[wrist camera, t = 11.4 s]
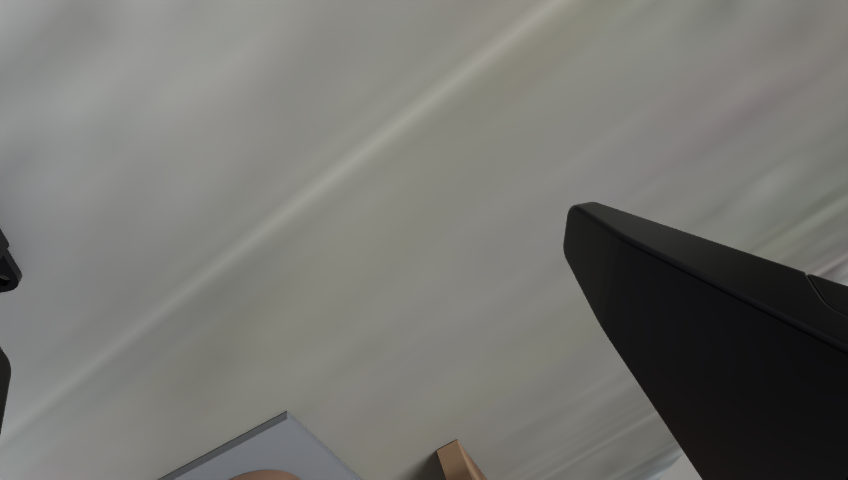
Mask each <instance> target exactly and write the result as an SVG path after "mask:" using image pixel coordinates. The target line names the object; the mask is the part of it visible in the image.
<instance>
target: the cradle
mask: <svg viewBox="0 0 848 480" xmlns="http://www.w3.org/2000/svg"><path fill="white" fill-rule="evenodd" d="M436 451H437V453H438V456H439V459H440V462H441V465H442V468H443V471H444V474H445V477H446V480H487V479H486V477H485V476H484V475H483V474H482V472H481V471H480V470H479V468H478V467H477V466H476V464H475V463H474V462H473V460H472V459H471V458H470V456H469V455H468V454H467V452H466V451H465V450H464V448H463V447H462V446H461V444H460V443H459V442H458V440H455V441H453V442H452V443H450V444H448V445H446V446H444V447H442V448H440V449H438V450H436Z"/></svg>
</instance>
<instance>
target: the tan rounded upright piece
mask: <svg viewBox="0 0 848 480" xmlns="http://www.w3.org/2000/svg"><path fill="white" fill-rule="evenodd" d="M230 480H301V479H300V478H299V477H297V476H295V475H293V474H291V473H288V472H284V471H278V470H261V471H254V472H249V473H246V474H242V475H239V476H237V477H234V478H232V479H230Z"/></svg>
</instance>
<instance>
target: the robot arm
mask: <svg viewBox="0 0 848 480" xmlns="http://www.w3.org/2000/svg"><path fill="white" fill-rule="evenodd" d="M8 247H9V243H8V241H7V240H6V238H5V236H4V235H3V233H2V231H1V229H0V275H4V276H7V277H8V278H9V279H10V280H5V279H2V278H0V293H1V292H7V291H11V290H13V289H15V288H16V287H17V286H18V284H19V283H20V281H21V278H22V274H21V271H20V269H19V268H18V266H17V264H16V263H15V261H14V259H13V258H12V256H11V254H10V253H9V251H8V249H7V248H8ZM563 247H564V254H565V257H566V260H567V262H568V264H569V266H570V268H571V269H572V271H573V273H574V275H575V277H576V279H577V281H578V283H579V285H580V287H581V289H582V291H583V293H584V295H585V297H586V299H587V301H588V303H589V305H590V307H591V309H592V310H593V312H594V314H595V316H596V318H597V320H598V322H599V323H600V325H601V327H602V329H603V330H604V332H605V333H606V335H607V337H608V338H609V340H610V341H611V343H612V344H613V346H614V347H615V349H616V350H617V352H618V353H619V355H620V356H621V358H622V359H623V361H624V362H625V364H626V365H627V367H628V368H629V370H630V371H631V373H632V374H633V376H634V377H635V379H636V380H637V382H638V383H639V385H640V386H641V388H642V389H643V391H644V392H645V394H646V395H647V397H648V398H649V400H650V401H651V403H652V404H653V406H654V407H655V409H656V410H657V412H658V413H659V415H660V416H661V418H662V419H663V421H664V422H665V424H666V425H667V427H668V429H669V430H670V432H671V433H672V435H673V436H674V438H675V439H676V441H677V442H678V444H679V445H680V447H681V448H682V450H683V451H684V453H685V454H686V456H687V457H688V459H689V460H690V462H691V463H692V465H693V466H694V468H695V469H696V471H697V472H698V474H699V475H700V477H701V478H702V480H848V286H845V285H842V284H839V283H836V282H833V281H830V280H827V279H824V278H821V277H818V276H815V275H812V274H809V275H806V273H805V272H803V271H800V270H797V269H794V268H791V267H788V266H785V265H782V264H779V263H776V262H773V261H770V260H767V259H764V258H761V257H758V256H755V255H752V254H749V253H746V252H743V251H740V250H737V249H734V248H731V247H728V246H725V245H722V244H719V243H716V242H713V241H710V240H707V239H704V238H701V237H698V236H695V235H692V234H689V233H686V232H683V231H680V230H677V229H674V228H671V227H668V226H665V225H662V224H659V223H656V222H653V221H650V220H647V219H644V218H641V217H638V216H635V215H632V214H629V213H626V212H623V211H620V210H617V209H614V208H611V207H608V206H605V205H602V204H599V203H596V202H588V203H583V204H577V205H573V206H572V207H571V208H570V209H569V211H568V215H567V222H566V229H565V237H564V245H563ZM10 377H11V366H10V362H9V360H8V358H7V356H6V354H5V353H4V352H3V350H2V349H1V347H0V434H1V428H2V422H3V417H4V411H5V405H6V400H7V394H8V389H9V383H10Z"/></svg>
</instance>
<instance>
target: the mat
mask: <svg viewBox="0 0 848 480" xmlns="http://www.w3.org/2000/svg"><path fill="white" fill-rule="evenodd" d="M261 470H278V471H284V472H288V473H291V474H293V475H295V476H297V477H299V478H300V479H301V480H361V479H360V478H359V477H358V476H357V475H356V474H355V473H354V472H352V471H351V470H350V469H349V468H348V467H347V466H346V465H345V464H344V463H343V462H342V461H340V460H339V459H338V458H337V457H336V456H335V455H334V454H333V453H332V452H331V451H330V450H328V449H327V448H326V447H325V446H324V445H323V444H322V443H321V442H320V441H319V440H318V439H316V438H315V437H314V436H313V435H312V434H311V433H310V432H309V431H308V430H307V429H306V428H304V427H303V426H302V425H301V424H300V423H299V422H298V421H297V420H296V419H295V418H294V417H292V416H291V415H290V414H289V413H288V412H287V411H286V412H285V413H283V414H281V415H279V416H277V417H275V418H273V419H272V420H270V421H268V422H266V423H264V424H262V425H260V426H258V427H257V428H255V429H253V430H251V431H249V432H247V433H245V434H243V435H242V436H240V437H238V438H236V439H234V440H232V441H230V442H229V443H227V444H225V445H223V446H221V447H219V448H217V449H215V450H214V451H212V452H210V453H208V454H206V455H204V456H202V457H200V458H199V459H197V460H195V461H193V462H191V463H189V464H187V465H186V466H184V467H182V468H180V469H178V470H176V471H174V472H172V473H171V474H169V475H167V476H165V477H163V478H161V479H159V480H230V479H232V478H234V477H237V476H239V475H242V474H246V473H249V472H254V471H261Z"/></svg>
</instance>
